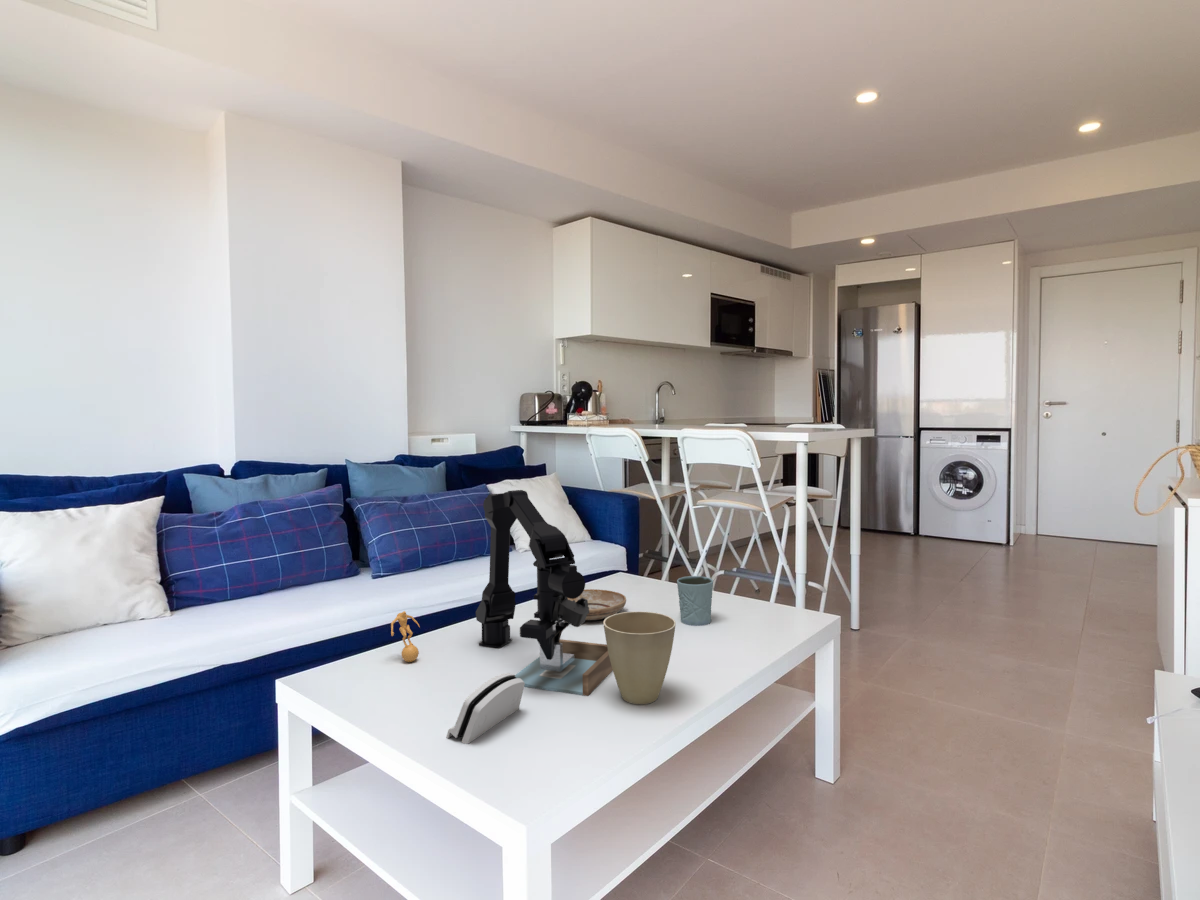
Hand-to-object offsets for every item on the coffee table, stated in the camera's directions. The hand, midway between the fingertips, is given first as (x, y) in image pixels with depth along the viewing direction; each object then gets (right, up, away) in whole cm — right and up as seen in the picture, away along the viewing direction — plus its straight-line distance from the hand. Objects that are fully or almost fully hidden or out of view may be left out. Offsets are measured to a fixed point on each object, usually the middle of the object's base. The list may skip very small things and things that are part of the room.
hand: (551, 658), depth 148 cm
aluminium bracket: (+1, -2, +3) cm, 4 cm away
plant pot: (+19, -5, -10) cm, 23 cm away
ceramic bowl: (+7, -3, +50) cm, 50 cm away
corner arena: (+2, -5, +3) cm, 6 cm away
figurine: (-36, -5, +13) cm, 38 cm away
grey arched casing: (-10, -6, -22) cm, 25 cm away
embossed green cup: (+38, -3, +41) cm, 56 cm away
